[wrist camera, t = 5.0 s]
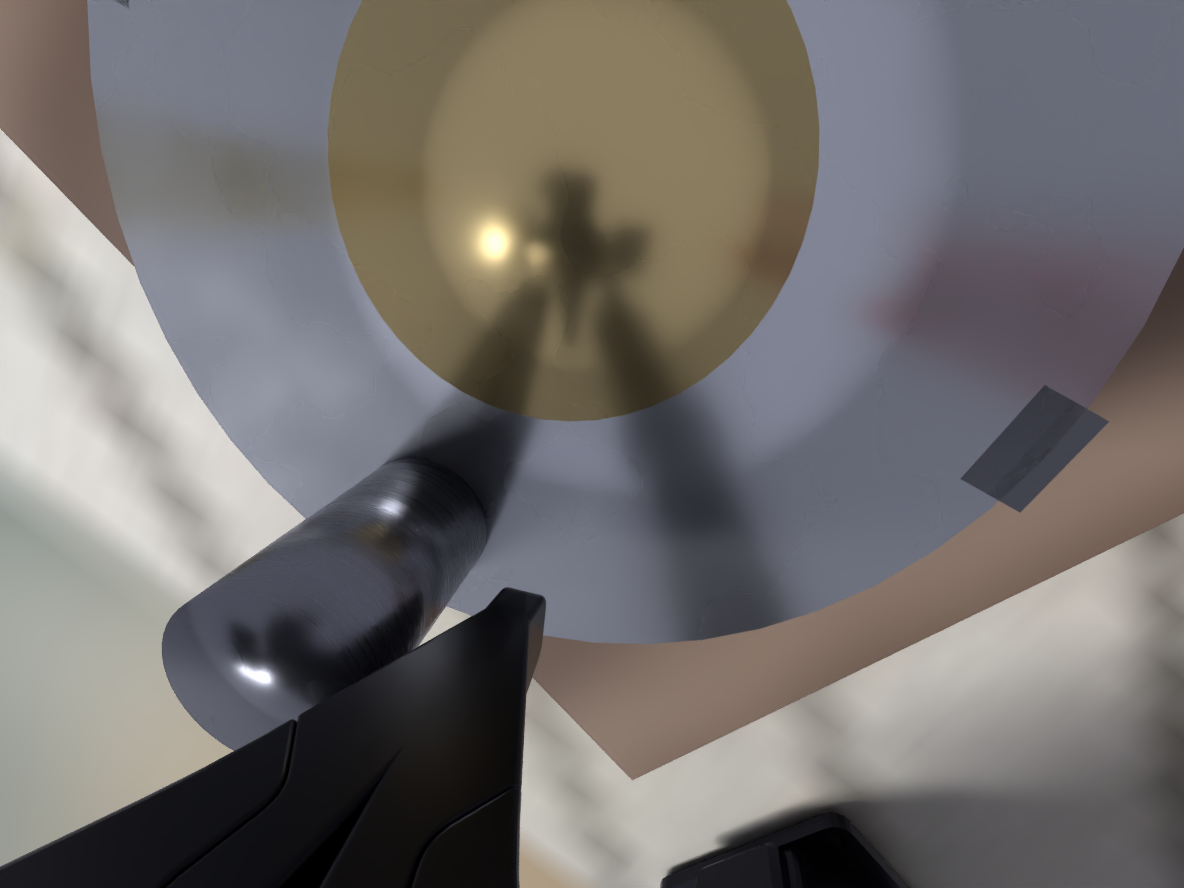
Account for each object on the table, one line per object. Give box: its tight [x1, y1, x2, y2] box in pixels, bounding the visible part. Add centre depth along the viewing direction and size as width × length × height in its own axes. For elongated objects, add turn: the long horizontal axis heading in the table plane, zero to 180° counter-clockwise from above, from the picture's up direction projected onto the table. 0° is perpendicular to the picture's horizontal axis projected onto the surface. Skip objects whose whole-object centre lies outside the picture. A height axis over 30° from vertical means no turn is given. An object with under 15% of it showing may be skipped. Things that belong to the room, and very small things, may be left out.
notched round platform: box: [87, 0, 1184, 751], centre depth 7 cm, size 16×16×6 cm
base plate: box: [0, 0, 1184, 780], centre depth 11 cm, size 22×17×2 cm
